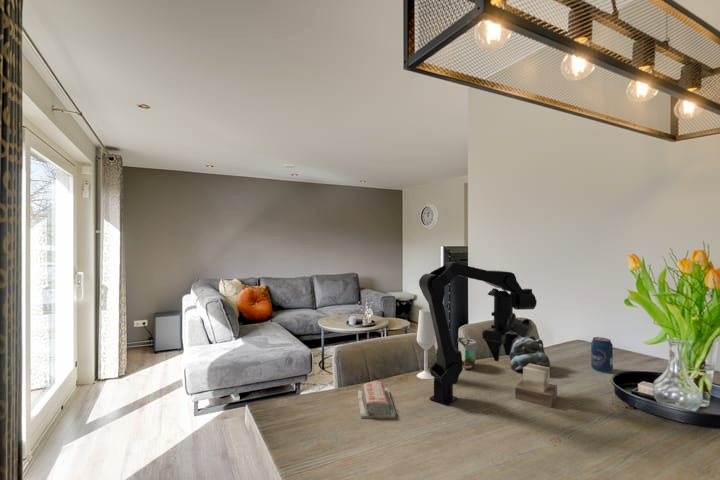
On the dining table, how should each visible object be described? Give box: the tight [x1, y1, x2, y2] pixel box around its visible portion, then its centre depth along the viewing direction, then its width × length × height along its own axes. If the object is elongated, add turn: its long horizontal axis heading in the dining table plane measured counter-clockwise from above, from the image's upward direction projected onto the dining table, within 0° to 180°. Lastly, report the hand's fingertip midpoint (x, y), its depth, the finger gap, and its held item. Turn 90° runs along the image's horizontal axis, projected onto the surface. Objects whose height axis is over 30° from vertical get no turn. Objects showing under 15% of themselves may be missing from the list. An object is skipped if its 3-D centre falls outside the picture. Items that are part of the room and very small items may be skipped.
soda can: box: [590, 336, 614, 374], centre depth 140 cm, size 7×7×12 cm
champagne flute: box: [416, 309, 436, 380], centre depth 134 cm, size 7×7×24 cm
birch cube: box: [522, 363, 550, 392], centre depth 114 cm, size 6×6×6 cm
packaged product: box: [357, 380, 396, 419], centre depth 110 cm, size 18×5×10 cm
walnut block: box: [514, 378, 558, 408], centre depth 115 cm, size 10×10×4 cm
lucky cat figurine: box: [508, 335, 551, 372], centre depth 142 cm, size 15×12×14 cm
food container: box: [457, 336, 478, 371], centre depth 144 cm, size 12×6×10 cm, turn 179°
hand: (502, 358), depth 118 cm, fingers open, 9 cm apart
